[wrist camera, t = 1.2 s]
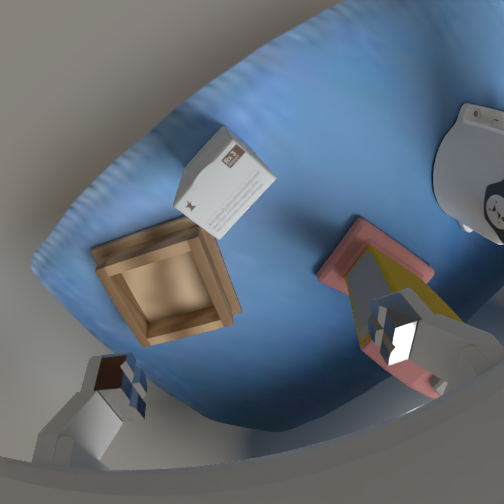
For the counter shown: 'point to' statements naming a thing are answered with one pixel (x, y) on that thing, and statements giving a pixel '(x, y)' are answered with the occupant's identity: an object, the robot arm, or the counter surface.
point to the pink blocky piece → (382, 291)
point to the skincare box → (221, 183)
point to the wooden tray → (168, 281)
